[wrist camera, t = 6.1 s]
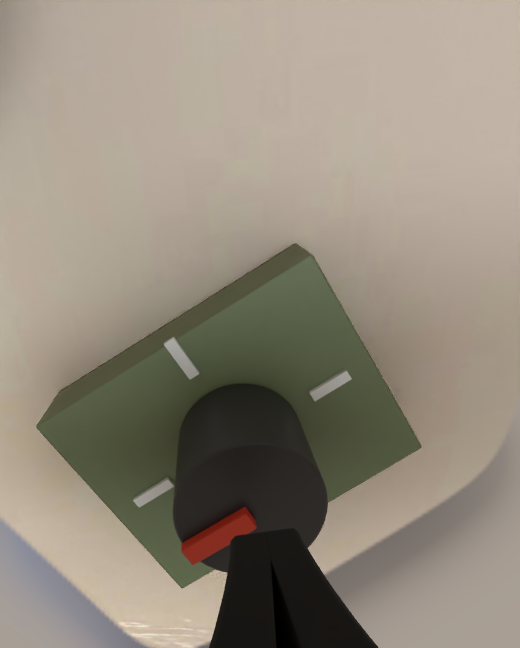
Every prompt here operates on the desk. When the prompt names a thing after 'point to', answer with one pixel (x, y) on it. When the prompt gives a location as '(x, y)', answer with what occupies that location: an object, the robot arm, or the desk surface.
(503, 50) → the desk surface
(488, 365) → the desk surface
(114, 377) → the panel
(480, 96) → the desk surface
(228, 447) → the timer dial
